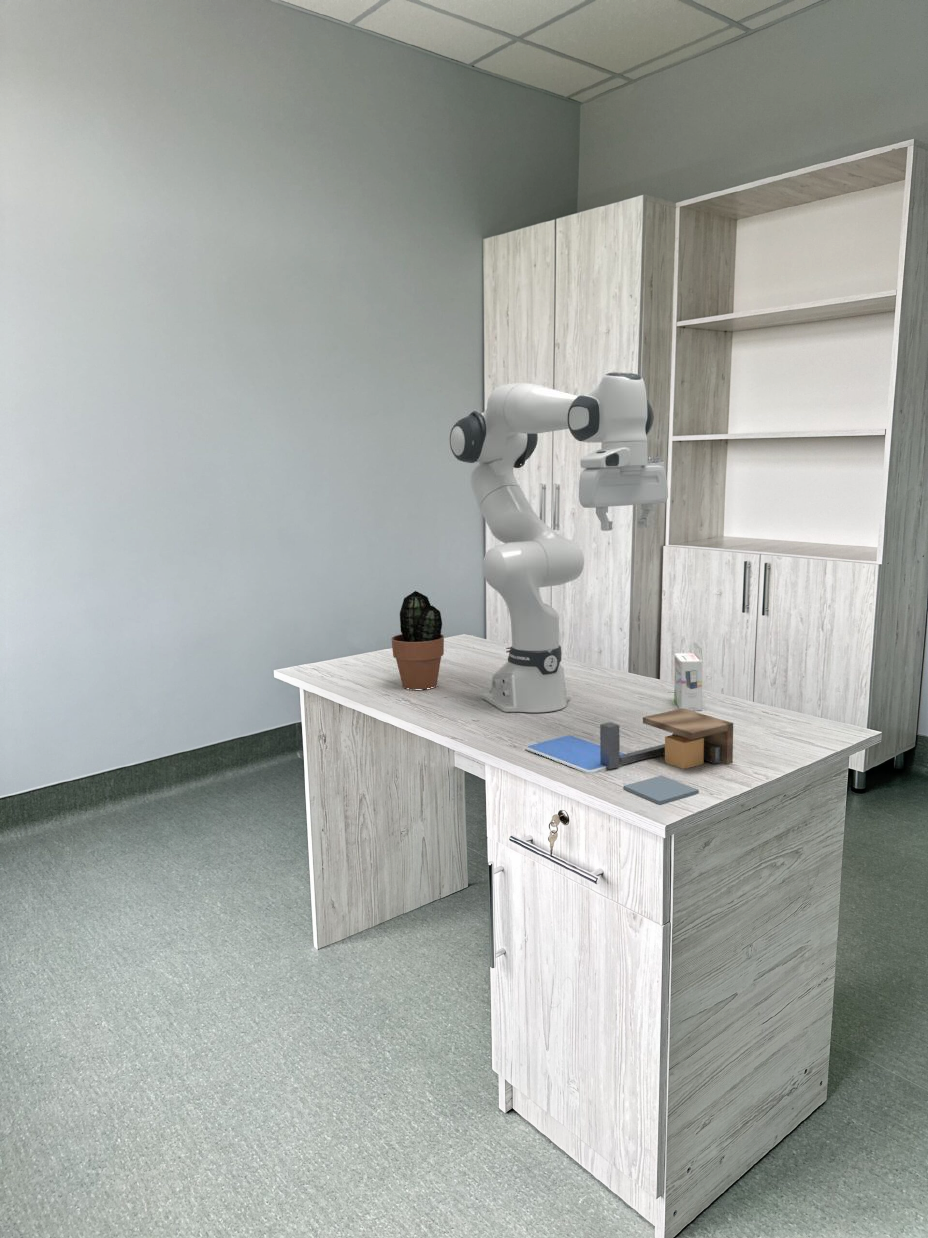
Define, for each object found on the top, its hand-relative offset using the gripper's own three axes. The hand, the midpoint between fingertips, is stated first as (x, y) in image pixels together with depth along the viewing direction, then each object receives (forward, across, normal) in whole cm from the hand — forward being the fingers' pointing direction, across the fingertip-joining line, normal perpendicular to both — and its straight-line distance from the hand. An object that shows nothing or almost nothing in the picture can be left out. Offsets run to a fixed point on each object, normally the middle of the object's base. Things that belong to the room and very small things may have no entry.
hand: (625, 528), depth 177 cm
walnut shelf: (+43, -1, +16) cm, 46 cm away
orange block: (+44, +1, +16) cm, 47 cm away
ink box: (+43, -28, -11) cm, 53 cm away
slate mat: (+43, +15, +25) cm, 52 cm away
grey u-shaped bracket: (+43, +5, +15) cm, 46 cm away
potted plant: (+43, +11, -68) cm, 81 cm away
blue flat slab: (+44, +14, +1) cm, 46 cm away
